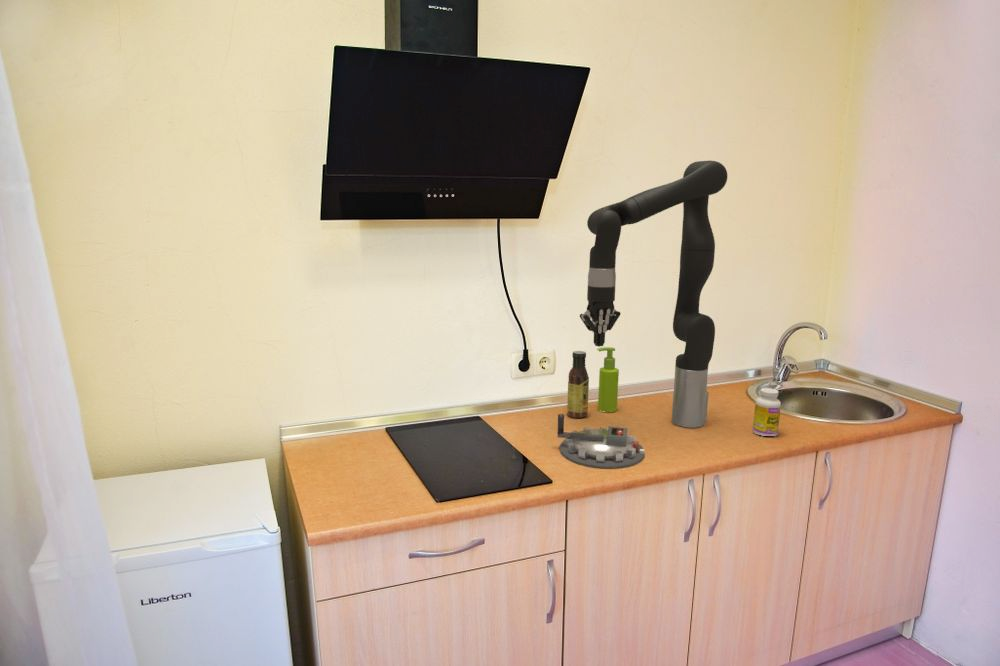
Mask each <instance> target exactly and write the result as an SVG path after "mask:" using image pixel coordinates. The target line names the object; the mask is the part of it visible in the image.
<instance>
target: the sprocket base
mask: <svg viewBox="0 0 1000 666" xmlns="http://www.w3.org/2000/svg"><path fill="white" fill-rule="evenodd" d="M645 450H646V449H644V448H643V445H642V444H640V443H639V449H638V452H636V454H635V456H634V457H633V458H629V457H624V458H623V461H617V462H616V461H614V460H613V459H612V460H604V462H599V461H596V459H594V458H589V457H588V458H586V459H583V458H580V457H578V453H570V452H569V451H568V446H566V438H564V440H562V441H561V443H560V445H559V451H560V454H561V456H562V457H564V458H565V459H566V460H568V461H570V462H572V463H573V464H574V463H575V464H577V465H580V466H584V467H588V468H593V469H608V470H610V469H611V470H614V469H615V470H616V469H623V468H629V467H633V466H635V465H637V464H639V463H641V462H642V461H643V460H644V458H645V452H646V451H645Z"/></svg>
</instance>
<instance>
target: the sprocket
mask: <svg viewBox="0 0 1000 666" xmlns="http://www.w3.org/2000/svg"><path fill="white" fill-rule="evenodd" d="M564 429H565V415H564V413H562V414H561V413H560V414H557V438H560V439H566V446H568V451H569V452H570V453H578V457H580V458H583V459H586V458H588V457H589V458H594V459H596V461H599V462H604V460H612V459H613V460H614V461H616V462H617V461H623V458H624V457H629V458H633V457H634V456H635V454H636V452H638V449H639V444H640V443H639V442H640V441H636V439H637V437H636V436H634V435H633V434H629V435H628V434H627V443H626V447H624V446H613V445H606V444H607V432H608V427H599V429H598V428H596V429H595V428H591V427H584V428H582V430H581V431H578V430H573V431H571V432H564V431H565V430H564ZM617 435H620V436H623V430H617Z"/></svg>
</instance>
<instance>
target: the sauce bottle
mask: <svg viewBox="0 0 1000 666" xmlns="http://www.w3.org/2000/svg"><path fill="white" fill-rule="evenodd" d="M571 355H572V367H571V369H570V370H569V372H568V382H567V405H566V406H567V415H568V416H569V417H571V418H573V417H574V419H580V418H581V419H582V417H583V418H585V417H587V416H588V410H589V387H590V386H589V384H590V382H589V381H590V377H589V374H588V371H587V368H586V358H587V352H586V351H582V350H574V351H572V354H571Z"/></svg>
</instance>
